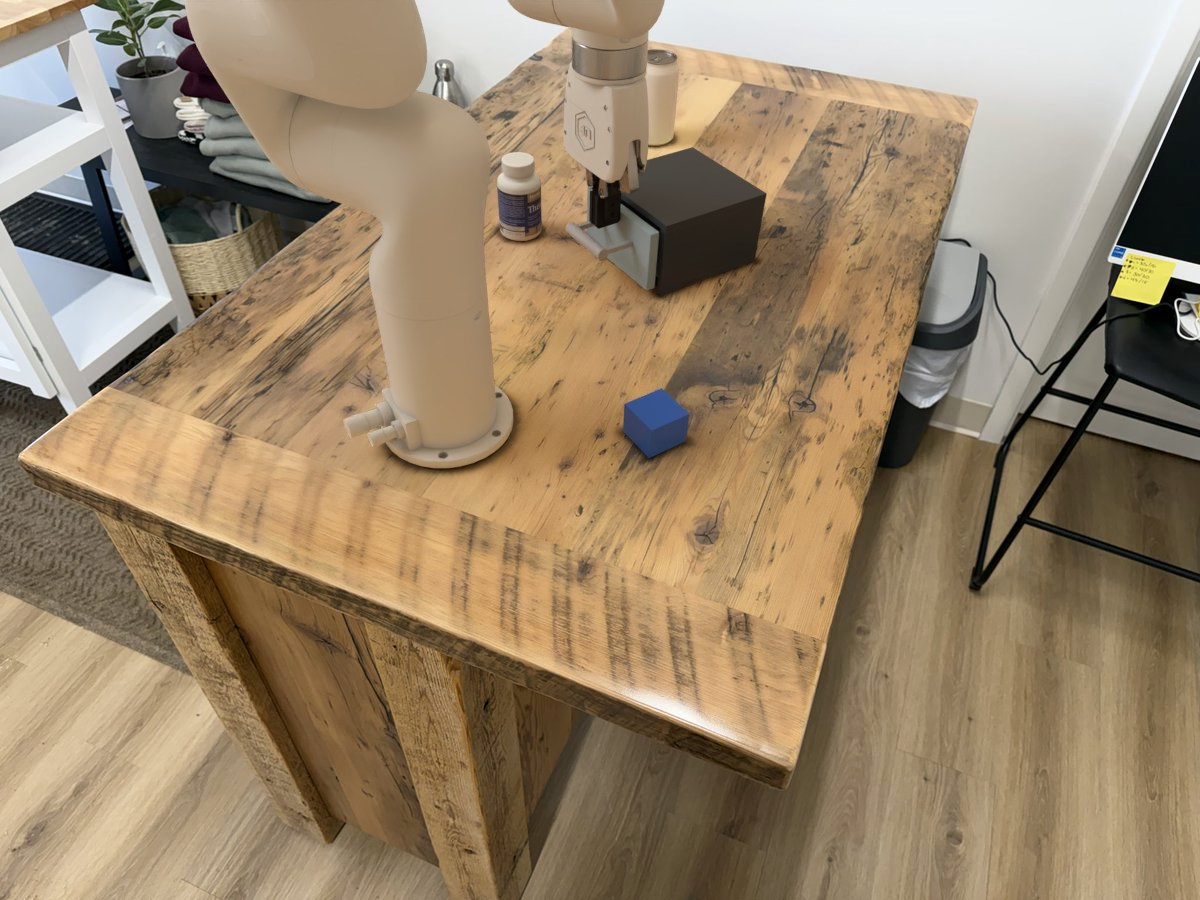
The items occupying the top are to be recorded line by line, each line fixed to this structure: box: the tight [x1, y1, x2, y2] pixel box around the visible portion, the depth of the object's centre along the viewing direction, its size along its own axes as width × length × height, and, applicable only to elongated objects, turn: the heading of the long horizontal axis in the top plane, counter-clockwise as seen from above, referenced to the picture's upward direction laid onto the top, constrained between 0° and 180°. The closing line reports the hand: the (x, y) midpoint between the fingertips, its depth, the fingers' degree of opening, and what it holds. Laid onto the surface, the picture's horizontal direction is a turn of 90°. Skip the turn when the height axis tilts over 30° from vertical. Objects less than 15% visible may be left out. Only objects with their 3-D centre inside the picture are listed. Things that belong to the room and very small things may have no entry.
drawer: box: [565, 187, 662, 292], centre depth 100 cm, size 18×13×7 cm
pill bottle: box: [496, 151, 543, 242], centre depth 104 cm, size 5×5×10 cm
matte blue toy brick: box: [622, 388, 690, 459], centre depth 80 cm, size 4×4×4 cm
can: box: [645, 48, 680, 147], centre depth 124 cm, size 6×6×12 cm
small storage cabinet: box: [621, 147, 767, 297], centre depth 102 cm, size 15×14×9 cm
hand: (604, 222), depth 96 cm, fingers closed
